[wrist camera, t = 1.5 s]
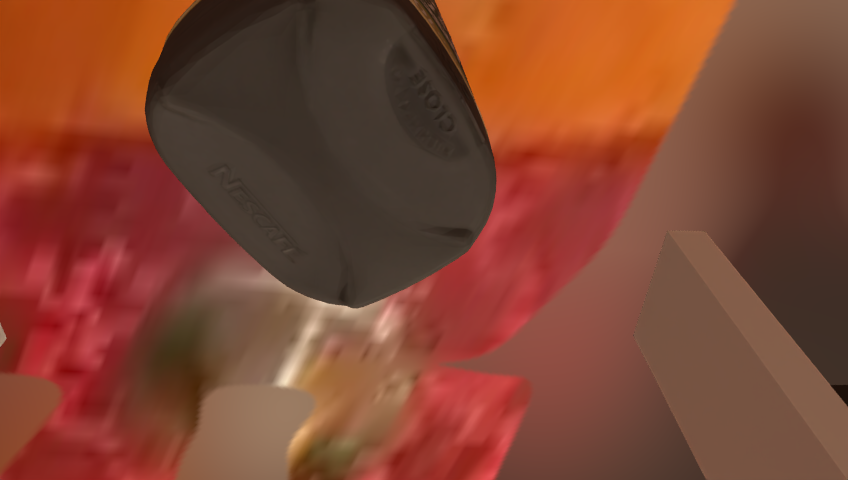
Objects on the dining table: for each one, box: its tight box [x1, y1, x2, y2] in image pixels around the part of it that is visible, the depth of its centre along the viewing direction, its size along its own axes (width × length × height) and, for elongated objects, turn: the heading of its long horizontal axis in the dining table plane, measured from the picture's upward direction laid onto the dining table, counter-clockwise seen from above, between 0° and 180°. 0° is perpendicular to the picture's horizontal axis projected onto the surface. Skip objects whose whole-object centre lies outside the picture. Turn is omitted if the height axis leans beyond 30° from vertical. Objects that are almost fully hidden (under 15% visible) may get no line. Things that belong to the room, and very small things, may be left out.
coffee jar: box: [145, 0, 496, 308], centre depth 23 cm, size 10×8×19 cm
